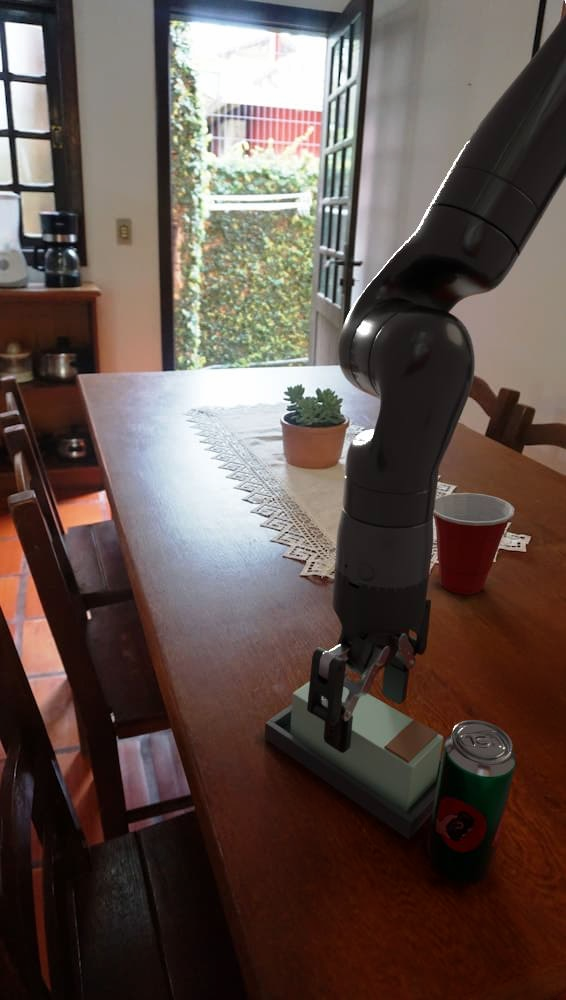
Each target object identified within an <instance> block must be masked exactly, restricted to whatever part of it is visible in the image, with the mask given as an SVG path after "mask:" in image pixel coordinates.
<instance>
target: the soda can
mask: <svg viewBox="0 0 566 1000" xmlns="http://www.w3.org/2000/svg"><path fill="white" fill-rule="evenodd" d="M441 756H442V760H441V765H440V771H439V777H438V783H437V789H436V794H435V800H434V806H433V812H432V815H431V816H430V824H429V830H428V835H427V842H426V855H427V857H428V860H429V861H430V863H431V865H432V866H433V868H434V869H435V870H436V871H437V872H438V873H439V874H441V875H442V876H443V877H444V878H446V879H448V880H449V881H452V882H454V883H458V884H464V885H471V884H476V883H480V882H481V881H484V880H485V879H486V878H488V876H489V875H490V873H491V872H492V870H493V865H494V861H495V857H496V853H497V848H498V844H499V839H500V835H501V831H502V826H503V822H504V819H505V813H506V809H507V804H508V800H509V796H510V793H511V792H510V791H511V786H512V782H513V778H514V773H515V770H516V764H517V757H516V754H515V752H514V745H513V742H512V739H511V737H510V736H509V734H507V733H506V732H505V731H504V730H503V729H502V728H500V727H498V726H497V725H495V724H494V723H493V724H492V723H490V722H487V721H484V720H477V719H468V720H463V721H460V722H458V723H457V724H456V725H454V727H453V728H452V729H451V732H450V733H449V734H448V735H447V736H446V737H445V739H444V741H443V747H442V754H441Z"/></svg>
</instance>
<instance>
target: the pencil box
mask: <svg viewBox="0 0 566 1000" xmlns="http://www.w3.org/2000/svg"><path fill="white" fill-rule="evenodd" d="M309 685H310V681H308V682H307V683H305V684H304V685H302V686H301V687H299V688H298V689H297V690H295V691H294V692H292V695H291V696H292V698H291V705H292V711H291V728H290V734H291V735H292V736H294V737H295V738H297V739H298V740H300V741H301V742H303V743H304V744H306V745H307V746H309V747H310V748H312V749H313V750H315V751H316V752H317V753H319V754H320V755H322V756H323V757H325V758H326V759H328V760H329V761H331V762H332V763H334V764H335V765H337V766H338V767H340V768H341V769H343V770H344V771H346V772H347V773H349V774H350V775H351V776H353V777H354V778H356V779H357V780H359V781H360V782H362V783H363V784H365V785H366V786H368V787H369V788H371V789H372V790H374V791H375V792H377V793H378V794H380V795H381V796H383V797H384V798H385V799H387V800H388V801H390V802H391V803H393V804H394V805H396V806H397V807H399V808H400V809H402V810H403V811H405V812H407V811H408V810H409V809H410V808H411V807H412V806H413V804H414V803H415V802H416V801H417V800H418V799H419V798H420V797H421V796H422V795H423V794H424V793H425V792H426V791H427V790H428V789H429V788H430V786H431V785H432V784H433V783H434V782H435V781H436V778H437V772H438V766H439V760H440V755H442V754H441V753H442V750H443V744H444V736H443V735H441V734H439V732H438V731H435V730H434V729H432V728H431V727H429V726H427V725H426V724H423V723H422V722H420V721H418V720H417V719H415V718H414V719H413V718H411V717H410V716H408V715H406V714H404V713H403V712H400V711H399V710H397V709H396V708H394V707H392V706H390V705H388V704H387V703H385V702H383V701H381V700H379V699H378V698H376V697H374V696H372V695H371V694H369V693H368V694H367V695H365V696H361V697H360V698H359V700H358V702H357V704H356V707H355V709H354V711H353V713H352V716H353V722H352V733H351V744H350V748H349V749H348V750H347V751H346V752H344V753H341V752H339V751H338V750H336V749H335V748H333V747H332V746H330V745H329V744H327V743H326V742H325V741H324V727H325V721H324V720H322V719H320V718H319V717H317V716H315V715H314V714H311V713H310V712H308V711H307V704H308V694H309ZM348 694H349V690H348V689H347V688H345V687H344V686H343V694H342V702H344V703H345V700H346V698H347V696H348ZM322 699H323V696H322ZM322 699H321V700H322Z"/></svg>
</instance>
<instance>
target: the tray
mask: <svg viewBox="0 0 566 1000" xmlns="http://www.w3.org/2000/svg"><path fill="white" fill-rule="evenodd" d="M291 711H292V704H290V705H289V706H288V707H286V708H284V709H283V710H282V711H280V712H279V713H277V714H276V715H275V716H273V717H272V718H270V719H269V720H267V721H266V722H265V725H264V739H265V740H266V741H268V743H271V745H273V746H275V747H276V748H277V749H279V750H280V751H281V752H283V753H284V754H286V755H287V756H289V757H290V758H292V759H293V760H295V762H298V763H299V764H300V765H301V766H303V767H304V768H306V769H307V770H308V771H310V772H311V773H313V774H315V776H317V777H318V778H320V779H322V780H323V781H324V782H326V783H327V784H329V785H330V786H332V787H333V788H334V789H336V790H337V791H339V792H340V793H342V795H345V796H346V797H347V798H348V799H350V800H351V801H353V802H354V803H356V804H357V805H359V806H360V807H361V808H363V809H364V810H365V811H367V812H368V813H370V814H371V815H373V816H374V817H375V818H377V819H378V820H380V821H381V822H383V823H384V824H385V825H387V826H388V827H390V828H391V829H393V830H394V831H396V832H397V833H399V834H400V835H401V836H403V838H405V839H407V840H408V841H409V840H410V839H411V838H412V837H413V836H414V835H415V834H416V833H417V832H418V831H419V829H420V828H422V826H423V825H424V824H425V823H426V822H427V820H429V818H431V817H432V812H433V806H434V800H435V794H436V789H437V783H438V777H439V771H440V765H441V760H442V754H440V760H439V766H438V772H437V778H436V781H435V782H434V783H433V784H432V785H431V786H430V788H429V789H428V790H427V791H426V792H425V793H424V794H423V795H422V796H421V797H420V798H419V799H418V800H417V801H416V802H415V803H414V804H413V806H412V807H411V808H410V809H409V810H408V811H407V812H405V811H403V810H402V809H400V808H399V807H397V806H396V805H394V804H393V803H391V802H390V801H388V800H387V799H385V798H384V797H383V796H381V795H380V794H378V793H377V792H375V791H374V790H372V789H371V788H369V787H368V786H366V785H365V784H363V783H362V782H360V781H359V780H357V779H356V778H354V777H353V776H351V775H350V774H349V773H347V772H346V771H344V770H343V769H341V768H340V767H338V766H337V765H335V764H334V763H332V762H331V761H329V760H328V759H326V758H325V757H323V756H322V755H320V754H319V753H317V752H316V751H315V750H313V749H312V748H310V747H309V746H307V745H306V744H304V743H303V742H301V741H300V740H298V739H297V738H295V737H294V736H292V735H291V734H290V728H291Z"/></svg>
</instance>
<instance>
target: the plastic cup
mask: <svg viewBox="0 0 566 1000" xmlns="http://www.w3.org/2000/svg"><path fill="white" fill-rule="evenodd" d="M514 514H515V507H514V506H513V505H512V504H511V503H510V502H508V501H506V500H505V499H501V498H500V497H496V496H492V495H488V494H483V493H471V492H460V493H459V492H458V493H457V492H456V493H449V494H445V495H443V494H442V495H439V496H436V500H435V508H434V515H433V520H434V526H435V534H436V536H435V537H436V554H437V555H436V556H437V561H438V579H439V583H440V585H441V587H443V588H444V589H445V590H446V591H449V592H452V593H453V594H458V595H474V594H478V593H479V592H480V591H482V588H484V586H485V583H486V580H487V577H488V574H489V572H490V571H491V569H492V566H493V564H494V561H495V557H496V555H497V553H498V550H499V547H500V544H501V541H502V538H503V536H504V534H505V531H506V529H507V527H508V523H510V520H511V519H512V518H513V517H514Z"/></svg>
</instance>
